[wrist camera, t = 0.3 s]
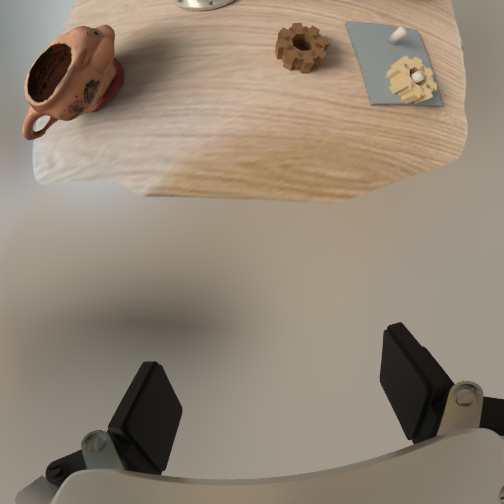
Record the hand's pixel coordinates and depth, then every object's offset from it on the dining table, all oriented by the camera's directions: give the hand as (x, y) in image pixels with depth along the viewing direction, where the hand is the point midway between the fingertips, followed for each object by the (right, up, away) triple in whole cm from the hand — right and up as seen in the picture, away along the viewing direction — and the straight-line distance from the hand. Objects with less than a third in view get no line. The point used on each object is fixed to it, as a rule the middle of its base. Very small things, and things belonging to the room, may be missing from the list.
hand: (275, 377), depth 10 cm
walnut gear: (+6, +34, +22) cm, 41 cm away
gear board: (+22, +35, +21) cm, 46 cm away
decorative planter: (-27, +31, +24) cm, 48 cm away
